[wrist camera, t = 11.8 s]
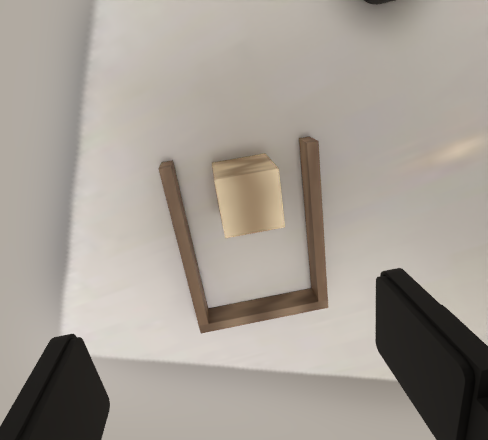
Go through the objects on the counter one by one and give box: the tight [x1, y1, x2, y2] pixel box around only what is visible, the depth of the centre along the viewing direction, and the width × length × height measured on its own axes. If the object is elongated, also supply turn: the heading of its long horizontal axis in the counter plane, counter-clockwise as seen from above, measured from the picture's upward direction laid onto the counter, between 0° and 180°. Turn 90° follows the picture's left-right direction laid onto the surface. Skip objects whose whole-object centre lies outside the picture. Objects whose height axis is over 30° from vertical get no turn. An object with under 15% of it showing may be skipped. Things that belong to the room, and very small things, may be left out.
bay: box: [159, 137, 328, 333], centre depth 39 cm, size 16×21×3 cm
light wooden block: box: [212, 154, 285, 238], centre depth 35 cm, size 6×6×7 cm
